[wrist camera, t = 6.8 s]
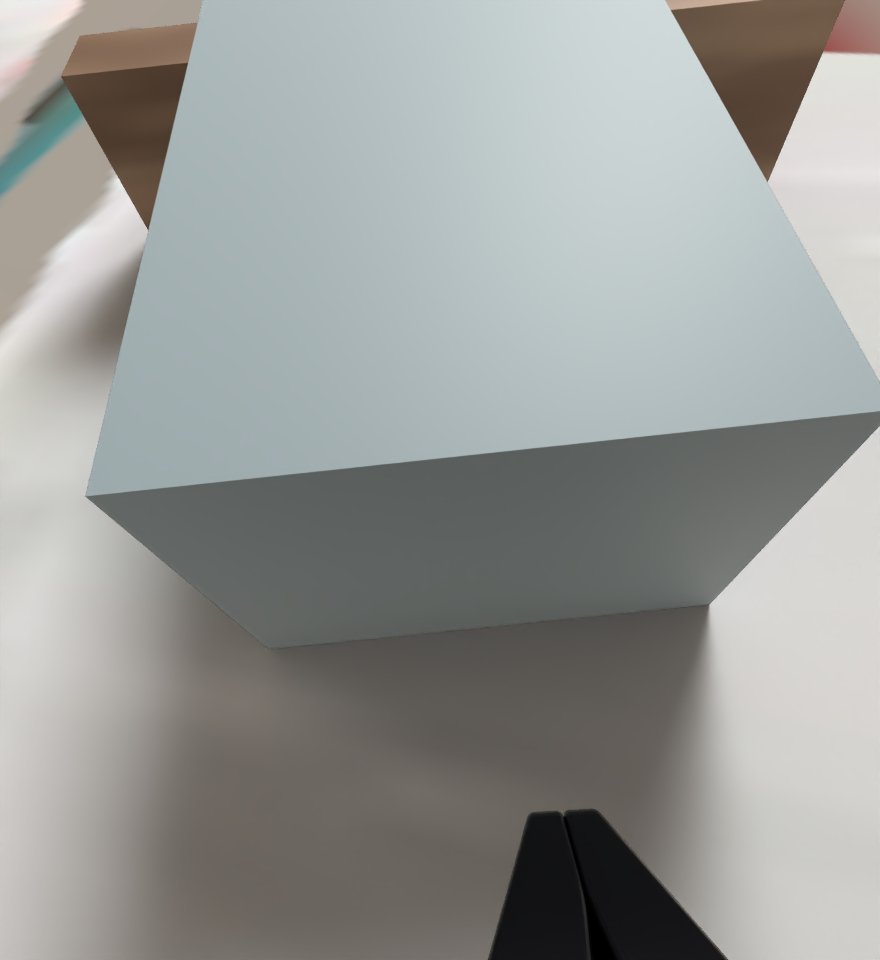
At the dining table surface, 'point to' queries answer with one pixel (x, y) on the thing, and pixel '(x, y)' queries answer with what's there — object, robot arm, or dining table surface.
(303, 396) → the slate block
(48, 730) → the dining table surface
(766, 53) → the walnut board
